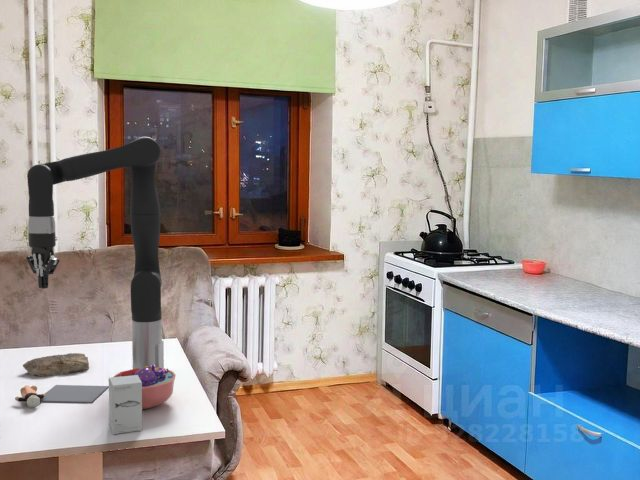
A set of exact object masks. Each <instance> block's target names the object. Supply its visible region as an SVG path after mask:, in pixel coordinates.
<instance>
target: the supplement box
mask: <svg viewBox="0 0 640 480" xmlns="http://www.w3.org/2000/svg"><path fill="white" fill-rule="evenodd" d="M108 386H109V388H108V420H109V421H108V425H109V428H110V431H111V433H112V435H117V434H125V433H130V432H131V433H132V432H140V431H143V409H142V382H141V380H140V378H139V376H138V375H132V376H121V377H108Z"/></svg>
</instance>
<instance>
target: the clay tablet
mask: <svg viewBox="0 0 640 480" xmlns="http://www.w3.org/2000/svg"><path fill="white" fill-rule="evenodd" d="M22 367H23V368H24V370H26V371H27V372H28V373H29V374H30V375H32V376H39V377H51V376H52V377H53V376H61V375H65V374H67V375H68V374H69V373H75V372H76V373H77V372H82V371H85V370H88V369H89V368H90V363H89V357H88V356H86V354H85V353H79V352H75V353H72V352H70V353H65V354H55V355H53V354H52V355H48V356H41V357H36V358H33V359H31V360H27V361H26V362H25V363H24V364H22Z"/></svg>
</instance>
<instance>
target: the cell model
mask: <svg viewBox="0 0 640 480" xmlns="http://www.w3.org/2000/svg"><path fill="white" fill-rule="evenodd" d="M132 375H138V376H139V378H140V380H141V382H142V410H147V409H150V408H154V407H158V406H161V404H164V403H165V402H167V401H168V400H169V399H170V398H171V397H172V395H173V393H174V386H175V385H174V384H175V379H176V373H175V372H174V371H173V370H170V369H169V368H165V367H164V368H161V367H155V365H152V366H146V367H142V368H135V369H133V368H132V369H128V370H123V371H120V372H118V373H116V374H115V375H114V376H113V377H121V376H132Z"/></svg>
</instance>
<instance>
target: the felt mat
mask: <svg viewBox="0 0 640 480" xmlns="http://www.w3.org/2000/svg"><path fill="white" fill-rule="evenodd" d="M107 390H109V385H81V384H80V385H79V384H78V385H77V384H74V385H73V384H70V385H69V384H56V385H53V387H52V388H50V389H48V390H47V391H46V392H45V393H44V394H45V397H44V398H42V399H40V403H62V404H64V403H69V404H70V403H73V404H93V403H94V402H95V401H96V400H97V399H98V398H100V396H102V395H103V394H104V393H105V392H106V391H107Z"/></svg>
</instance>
